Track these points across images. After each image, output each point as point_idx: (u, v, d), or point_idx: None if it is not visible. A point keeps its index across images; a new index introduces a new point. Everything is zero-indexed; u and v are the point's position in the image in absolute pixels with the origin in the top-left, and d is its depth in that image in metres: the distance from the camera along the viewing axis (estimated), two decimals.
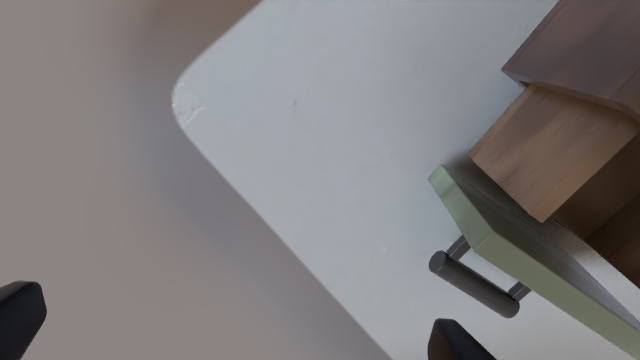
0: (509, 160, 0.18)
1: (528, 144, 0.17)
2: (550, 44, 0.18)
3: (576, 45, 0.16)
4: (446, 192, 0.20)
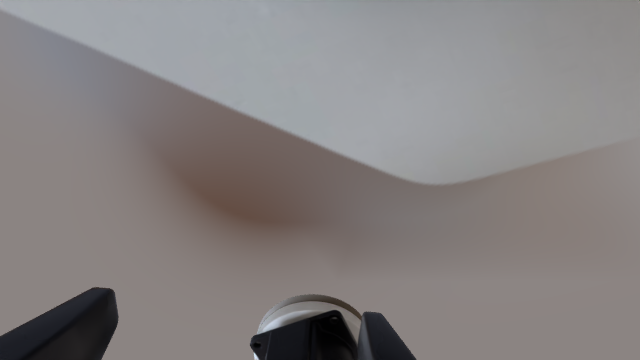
0: None
1: None
2: None
3: None
4: None
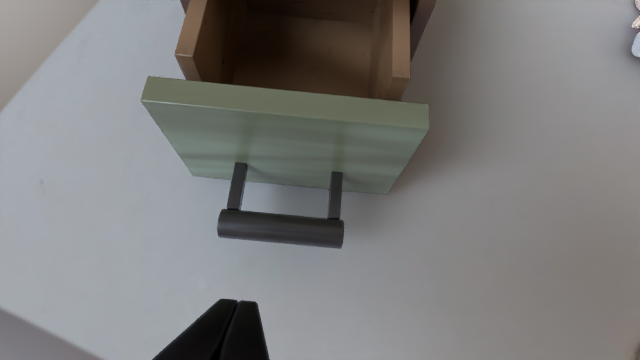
0: None
1: None
2: None
3: None
4: None
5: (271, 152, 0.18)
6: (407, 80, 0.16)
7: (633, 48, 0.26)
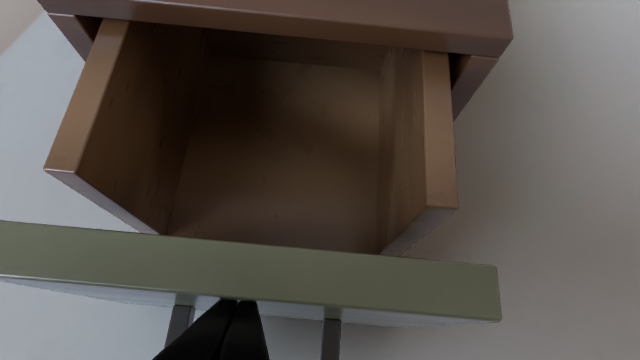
0: None
1: None
2: None
3: None
4: None
5: None
6: (453, 210, 0.09)
7: None
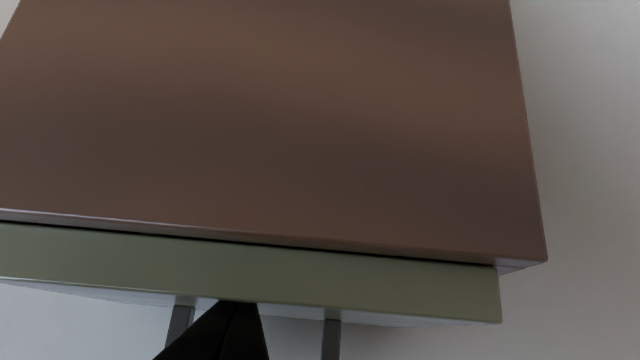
0: None
1: None
2: None
3: None
4: None
5: None
6: None
7: None
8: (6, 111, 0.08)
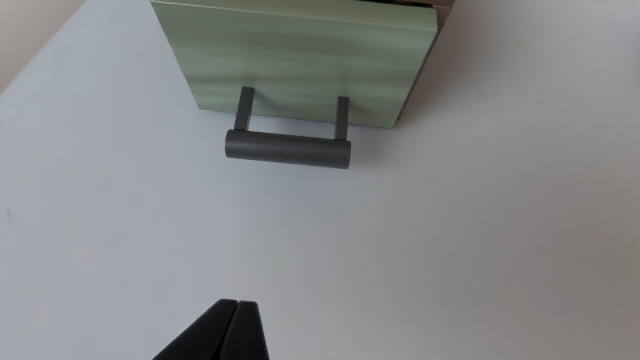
0: None
1: None
2: None
3: None
4: None
5: (278, 70, 0.18)
6: None
7: None
8: None
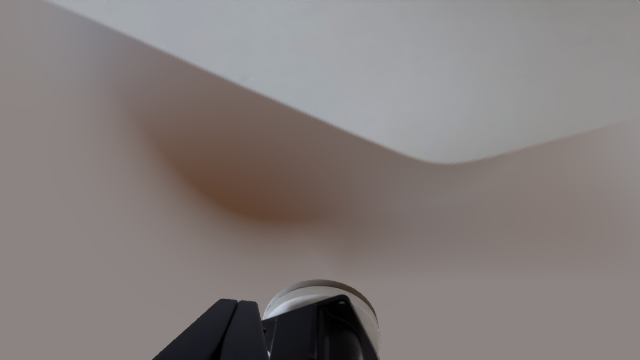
0: None
1: None
2: None
3: None
4: None
5: None
6: None
7: None
8: None
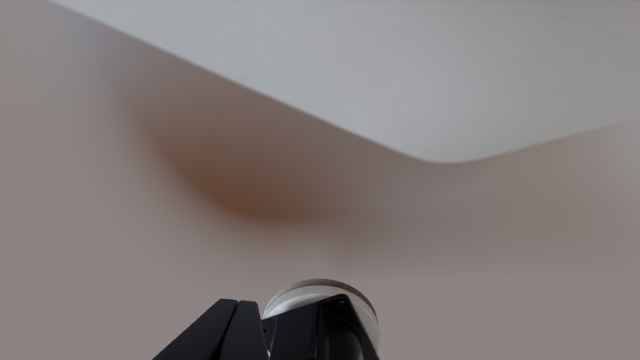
0: None
1: None
2: None
3: None
4: None
5: None
6: None
7: None
8: None
